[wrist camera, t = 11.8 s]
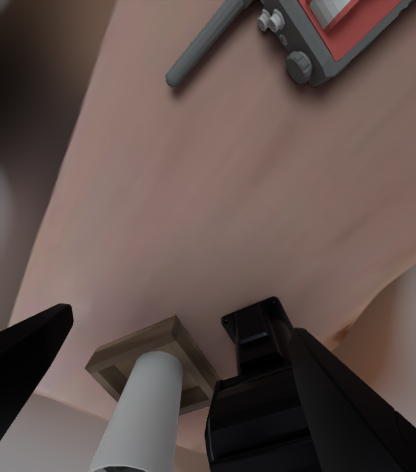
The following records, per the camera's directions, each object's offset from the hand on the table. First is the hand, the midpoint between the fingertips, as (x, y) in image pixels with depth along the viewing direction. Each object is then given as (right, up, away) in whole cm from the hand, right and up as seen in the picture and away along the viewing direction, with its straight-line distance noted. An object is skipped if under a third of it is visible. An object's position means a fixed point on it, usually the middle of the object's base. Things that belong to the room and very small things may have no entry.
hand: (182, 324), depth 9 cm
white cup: (-5, -12, +17) cm, 22 cm away
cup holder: (-5, -12, +18) cm, 22 cm away
